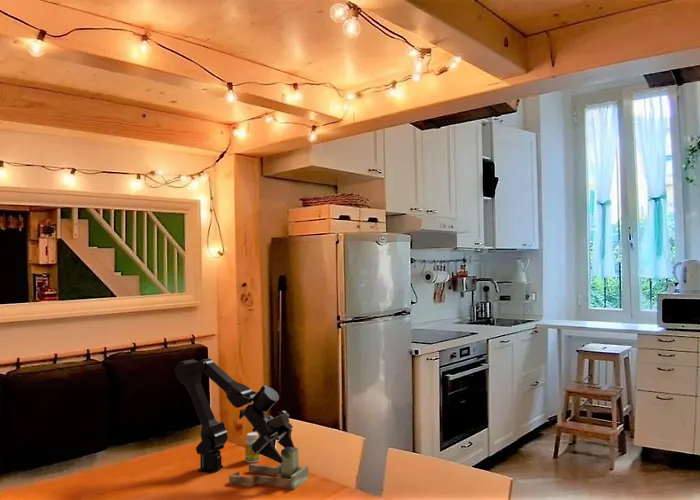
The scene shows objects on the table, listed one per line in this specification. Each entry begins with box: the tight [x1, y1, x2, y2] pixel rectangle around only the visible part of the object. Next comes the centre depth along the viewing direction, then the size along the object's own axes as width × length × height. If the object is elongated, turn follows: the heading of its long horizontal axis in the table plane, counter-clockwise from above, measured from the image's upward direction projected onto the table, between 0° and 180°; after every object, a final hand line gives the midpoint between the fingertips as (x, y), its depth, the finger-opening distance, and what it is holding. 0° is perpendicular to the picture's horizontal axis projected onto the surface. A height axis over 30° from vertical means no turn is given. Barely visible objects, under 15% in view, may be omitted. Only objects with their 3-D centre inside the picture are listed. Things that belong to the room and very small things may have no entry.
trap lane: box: [228, 463, 309, 490], centre depth 191 cm, size 22×16×4 cm
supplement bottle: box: [244, 431, 261, 464], centre depth 210 cm, size 5×5×10 cm
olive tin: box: [280, 446, 300, 479], centre depth 188 cm, size 4×4×10 cm
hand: (288, 457), depth 189 cm, fingers open, 9 cm apart
